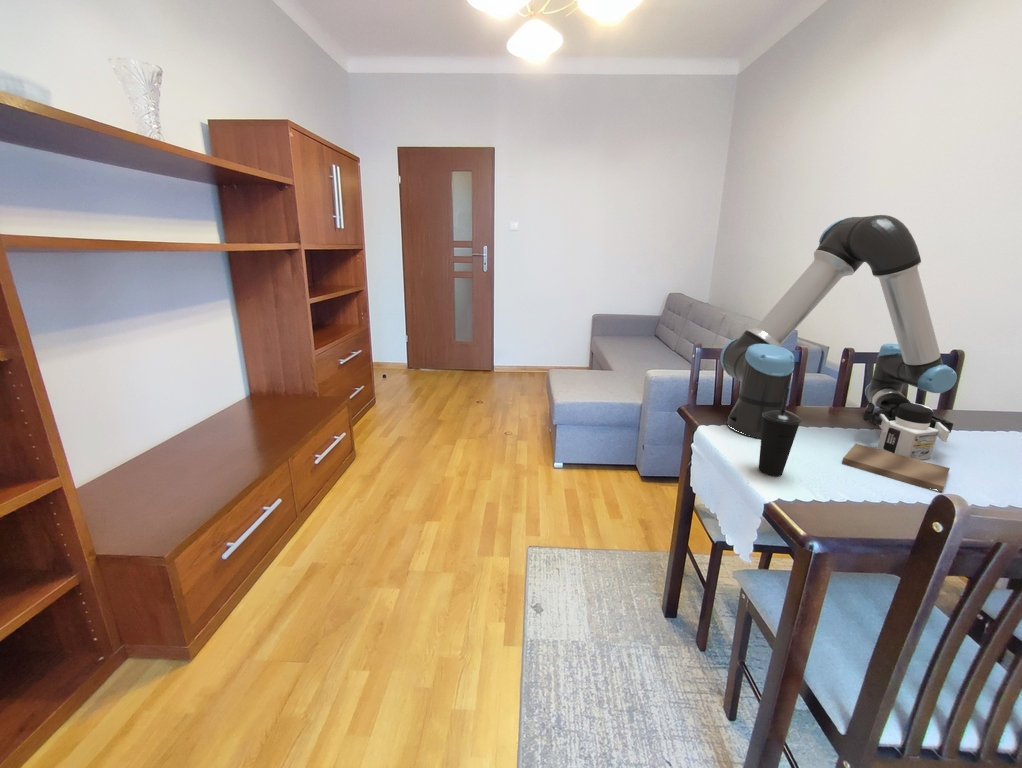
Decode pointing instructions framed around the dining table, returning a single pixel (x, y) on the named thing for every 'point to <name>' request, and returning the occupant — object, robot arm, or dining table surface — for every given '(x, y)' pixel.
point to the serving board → (897, 467)
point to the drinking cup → (777, 438)
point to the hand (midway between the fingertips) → (915, 431)
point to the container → (910, 432)
